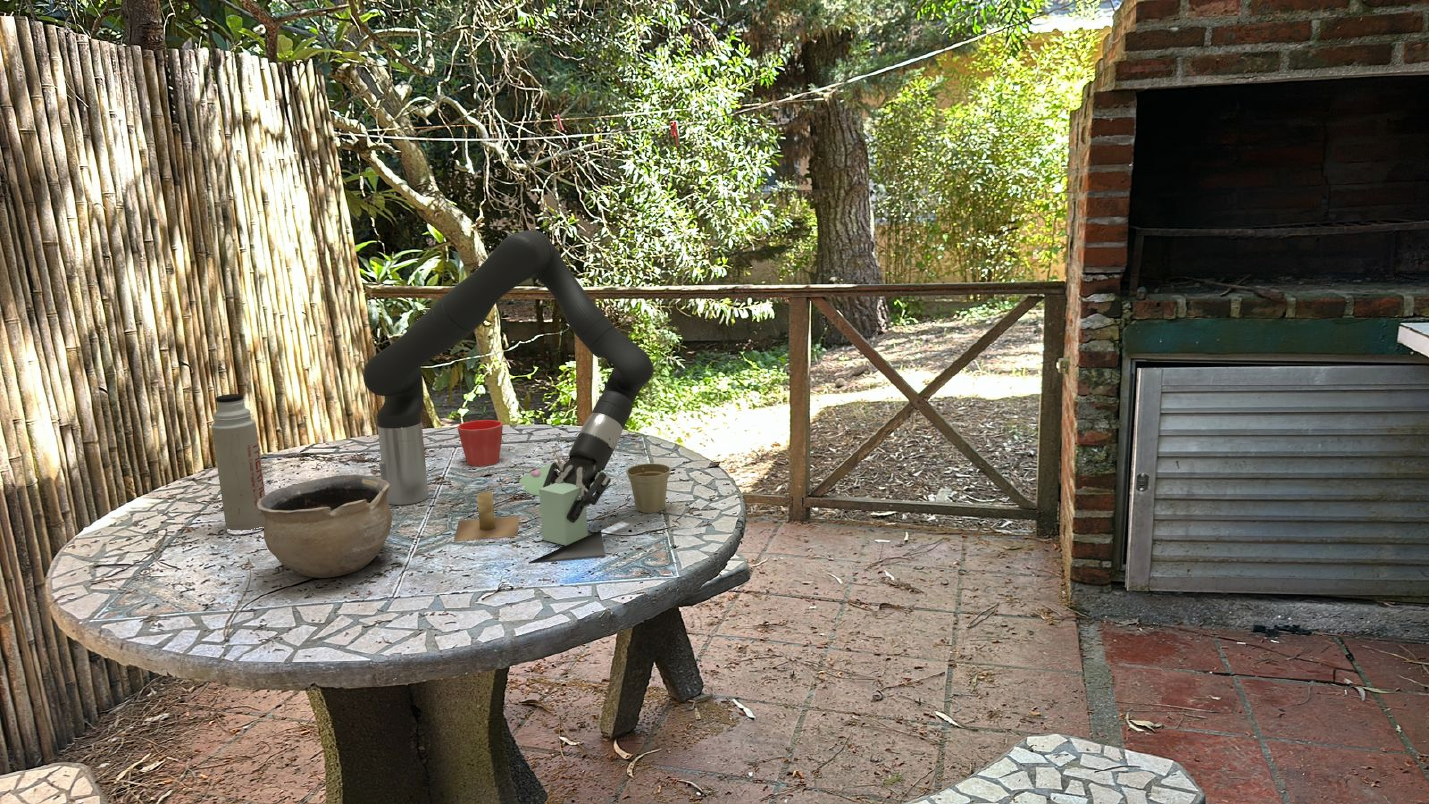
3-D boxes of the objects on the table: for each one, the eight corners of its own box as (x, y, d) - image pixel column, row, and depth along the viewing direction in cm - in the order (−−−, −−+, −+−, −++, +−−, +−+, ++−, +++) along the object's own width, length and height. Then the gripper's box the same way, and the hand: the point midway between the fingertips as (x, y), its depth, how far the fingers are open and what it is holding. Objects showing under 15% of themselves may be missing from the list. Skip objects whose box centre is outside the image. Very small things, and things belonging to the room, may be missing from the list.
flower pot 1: (470, 456, 251) (466, 419, 249) (511, 456, 249) (508, 419, 247) (453, 468, 241) (450, 429, 239) (496, 468, 239) (493, 430, 237)
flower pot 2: (638, 519, 201) (636, 478, 199) (620, 506, 209) (619, 467, 207) (679, 511, 205) (678, 471, 203) (661, 499, 213) (659, 460, 211)
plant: (609, 498, 216) (607, 459, 214) (513, 506, 213) (510, 466, 211) (602, 467, 240) (601, 431, 238) (517, 473, 237) (514, 437, 235)
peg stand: (454, 548, 187) (450, 506, 185) (459, 527, 199) (455, 487, 197) (518, 543, 189) (515, 501, 187) (519, 522, 201) (516, 482, 199)
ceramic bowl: (319, 603, 164) (308, 518, 161) (241, 578, 175) (230, 498, 172) (422, 559, 182) (414, 481, 179) (345, 539, 194) (337, 466, 190)
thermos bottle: (277, 522, 204) (260, 391, 198) (252, 536, 197) (233, 400, 191) (243, 521, 206) (225, 390, 200) (217, 534, 198) (197, 399, 192)
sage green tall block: (565, 545, 182) (562, 494, 180) (542, 539, 186) (539, 489, 183) (587, 535, 187) (584, 485, 185) (564, 530, 190) (561, 480, 188)
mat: (528, 563, 179) (528, 561, 179) (529, 537, 192) (528, 535, 192) (605, 556, 181) (605, 554, 181) (600, 530, 194) (600, 529, 194)
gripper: (559, 426, 192) (518, 501, 185) (615, 436, 184) (575, 515, 177) (579, 446, 197) (540, 520, 191) (634, 456, 189) (596, 533, 182)
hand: (557, 517), depth 184 cm, fingers closed on sage green tall block, 5 cm apart
